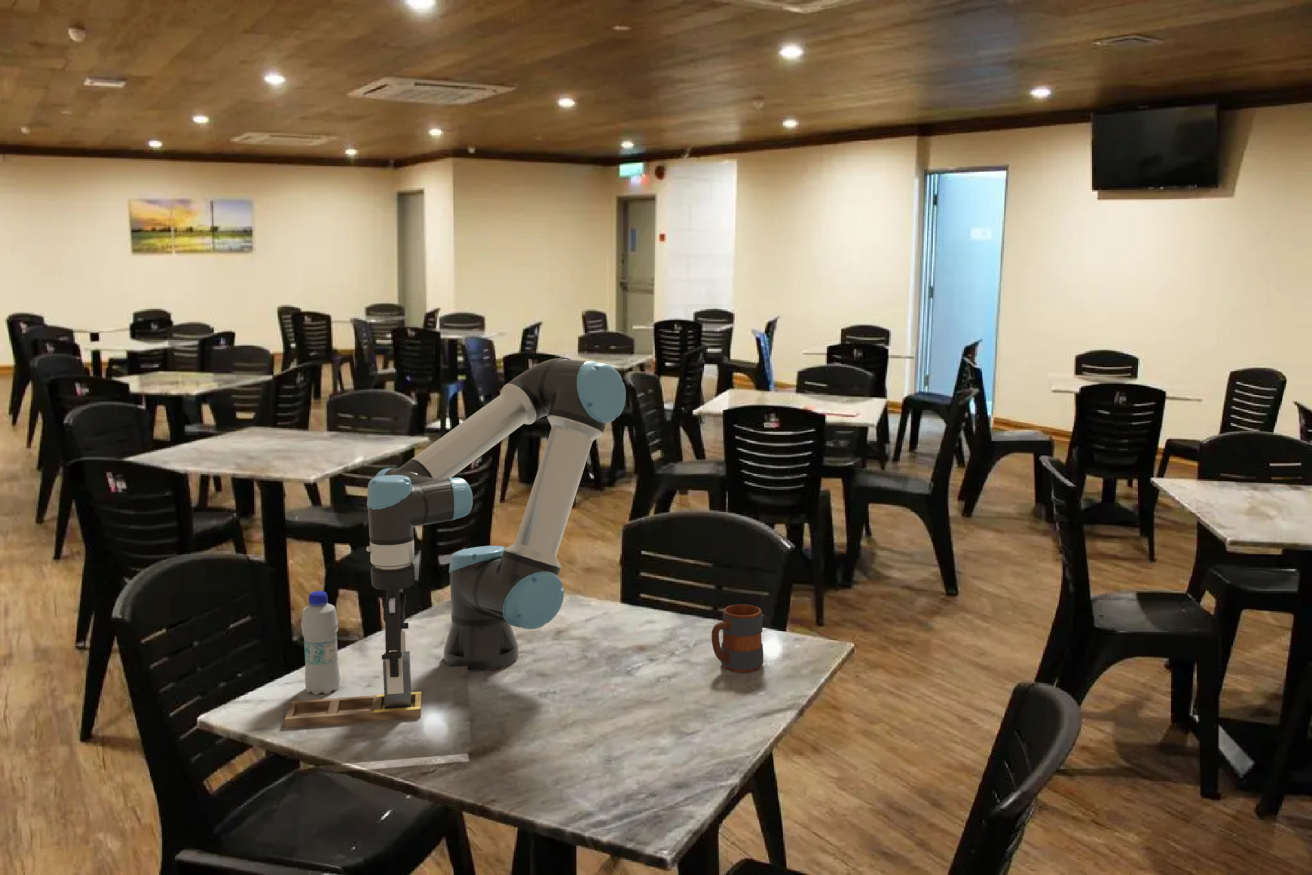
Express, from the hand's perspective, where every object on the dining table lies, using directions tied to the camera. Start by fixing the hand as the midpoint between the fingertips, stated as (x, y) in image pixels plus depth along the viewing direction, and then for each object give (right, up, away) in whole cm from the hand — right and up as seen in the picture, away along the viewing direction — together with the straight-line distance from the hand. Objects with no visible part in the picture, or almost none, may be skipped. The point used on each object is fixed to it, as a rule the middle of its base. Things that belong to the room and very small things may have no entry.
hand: (397, 678), depth 198 cm
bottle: (-17, -5, +11) cm, 21 cm away
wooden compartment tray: (-7, -7, 0) cm, 10 cm away
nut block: (0, -6, +1) cm, 6 cm away
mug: (+62, -3, +24) cm, 67 cm away
